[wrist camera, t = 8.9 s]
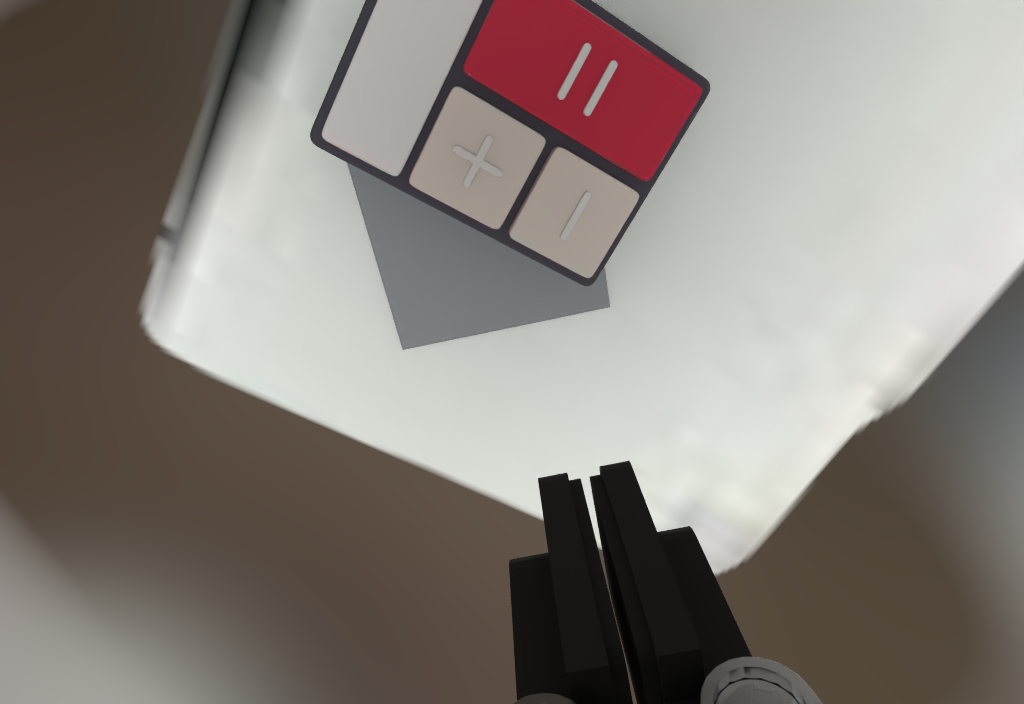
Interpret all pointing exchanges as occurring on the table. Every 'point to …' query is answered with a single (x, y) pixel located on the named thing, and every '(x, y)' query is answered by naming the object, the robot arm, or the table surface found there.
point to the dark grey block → (512, 118)
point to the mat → (458, 272)
